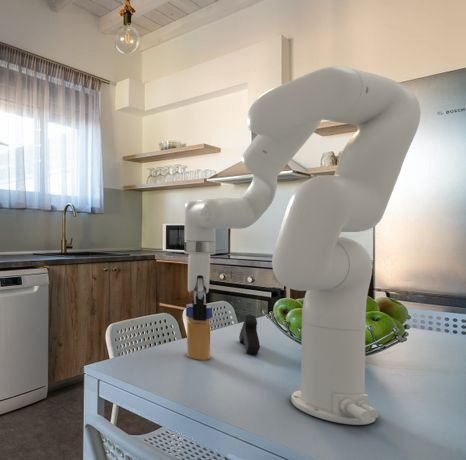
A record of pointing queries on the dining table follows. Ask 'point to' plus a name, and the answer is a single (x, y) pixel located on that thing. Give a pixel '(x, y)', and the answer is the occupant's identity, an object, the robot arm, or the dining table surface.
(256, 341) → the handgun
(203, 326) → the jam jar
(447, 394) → the dining table surface
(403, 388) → the dining table surface
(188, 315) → the jar lid
